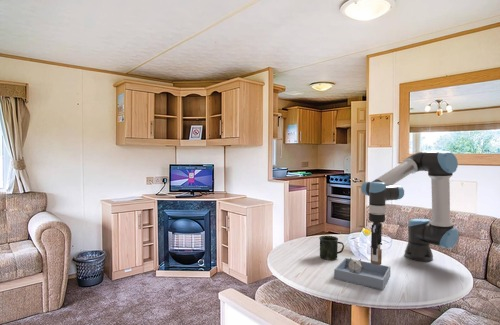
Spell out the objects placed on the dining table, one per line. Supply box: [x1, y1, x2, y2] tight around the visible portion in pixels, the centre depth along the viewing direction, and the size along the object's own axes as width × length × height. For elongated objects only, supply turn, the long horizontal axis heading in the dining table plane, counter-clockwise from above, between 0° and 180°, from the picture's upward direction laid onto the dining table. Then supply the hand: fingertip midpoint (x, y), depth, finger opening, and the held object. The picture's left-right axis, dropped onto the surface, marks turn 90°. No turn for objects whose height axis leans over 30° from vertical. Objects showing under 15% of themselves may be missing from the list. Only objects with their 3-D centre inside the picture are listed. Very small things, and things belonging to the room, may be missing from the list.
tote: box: [333, 257, 391, 291], centre depth 159 cm, size 19×23×5 cm
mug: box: [318, 235, 345, 261], centre depth 187 cm, size 11×15×12 cm
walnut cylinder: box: [370, 247, 383, 265], centre depth 155 cm, size 5×5×7 cm
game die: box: [347, 257, 364, 274], centre depth 161 cm, size 9×8×10 cm
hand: (376, 259), depth 155 cm, fingers closed on walnut cylinder, 5 cm apart
